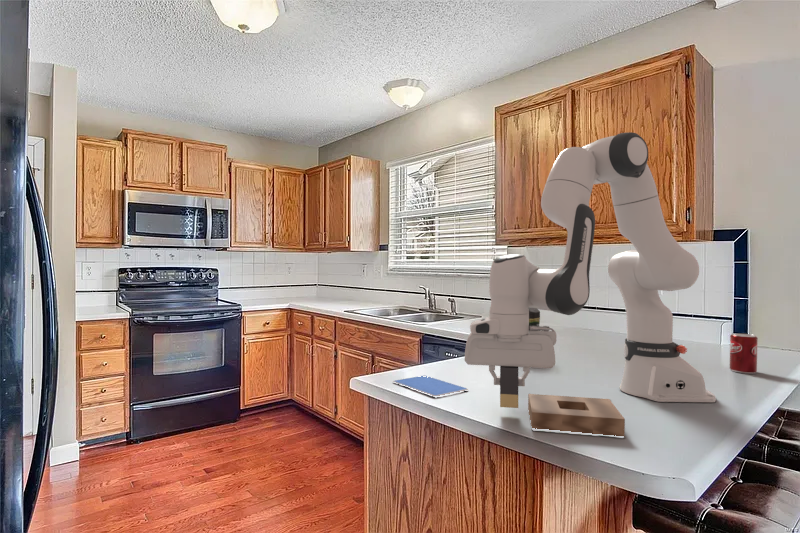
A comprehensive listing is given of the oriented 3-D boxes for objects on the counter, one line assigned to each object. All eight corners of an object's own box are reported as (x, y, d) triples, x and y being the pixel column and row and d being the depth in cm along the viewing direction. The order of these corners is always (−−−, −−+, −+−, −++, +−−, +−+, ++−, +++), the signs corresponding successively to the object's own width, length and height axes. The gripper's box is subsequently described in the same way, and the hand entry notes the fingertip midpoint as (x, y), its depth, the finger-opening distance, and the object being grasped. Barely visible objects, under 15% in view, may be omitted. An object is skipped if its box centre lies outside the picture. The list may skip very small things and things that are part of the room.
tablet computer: (391, 384, 138) (391, 380, 138) (424, 378, 145) (425, 374, 145) (434, 401, 122) (434, 396, 122) (469, 393, 129) (470, 388, 129)
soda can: (732, 373, 153) (733, 335, 153) (726, 368, 160) (727, 332, 160) (760, 375, 150) (760, 337, 150) (752, 370, 157) (753, 334, 157)
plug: (517, 402, 111) (517, 351, 111) (518, 408, 107) (518, 355, 107) (500, 401, 112) (500, 350, 111) (500, 407, 108) (500, 354, 108)
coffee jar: (532, 362, 167) (533, 309, 167) (511, 358, 172) (511, 307, 171) (542, 357, 175) (543, 307, 174) (522, 354, 179) (522, 305, 179)
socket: (609, 416, 109) (609, 399, 109) (624, 438, 96) (624, 419, 96) (528, 410, 113) (528, 393, 113) (531, 431, 99) (532, 412, 99)
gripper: (554, 324, 110) (554, 383, 110) (465, 322, 114) (465, 379, 114) (558, 328, 104) (558, 391, 104) (463, 326, 108) (463, 386, 108)
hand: (509, 385), depth 109 cm, fingers closed on plug, 4 cm apart
